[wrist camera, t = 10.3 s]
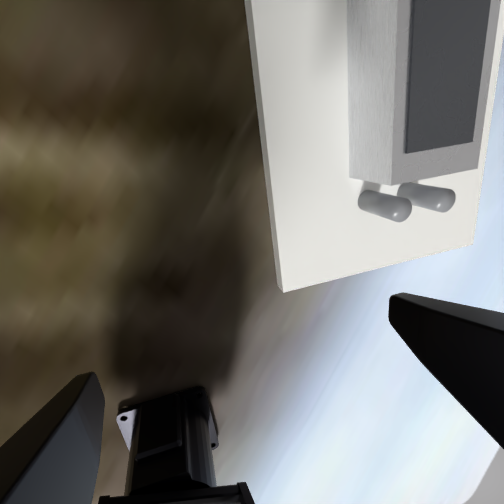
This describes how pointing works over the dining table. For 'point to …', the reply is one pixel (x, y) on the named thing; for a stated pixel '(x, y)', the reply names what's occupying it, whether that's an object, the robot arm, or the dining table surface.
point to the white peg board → (340, 157)
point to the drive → (417, 86)
